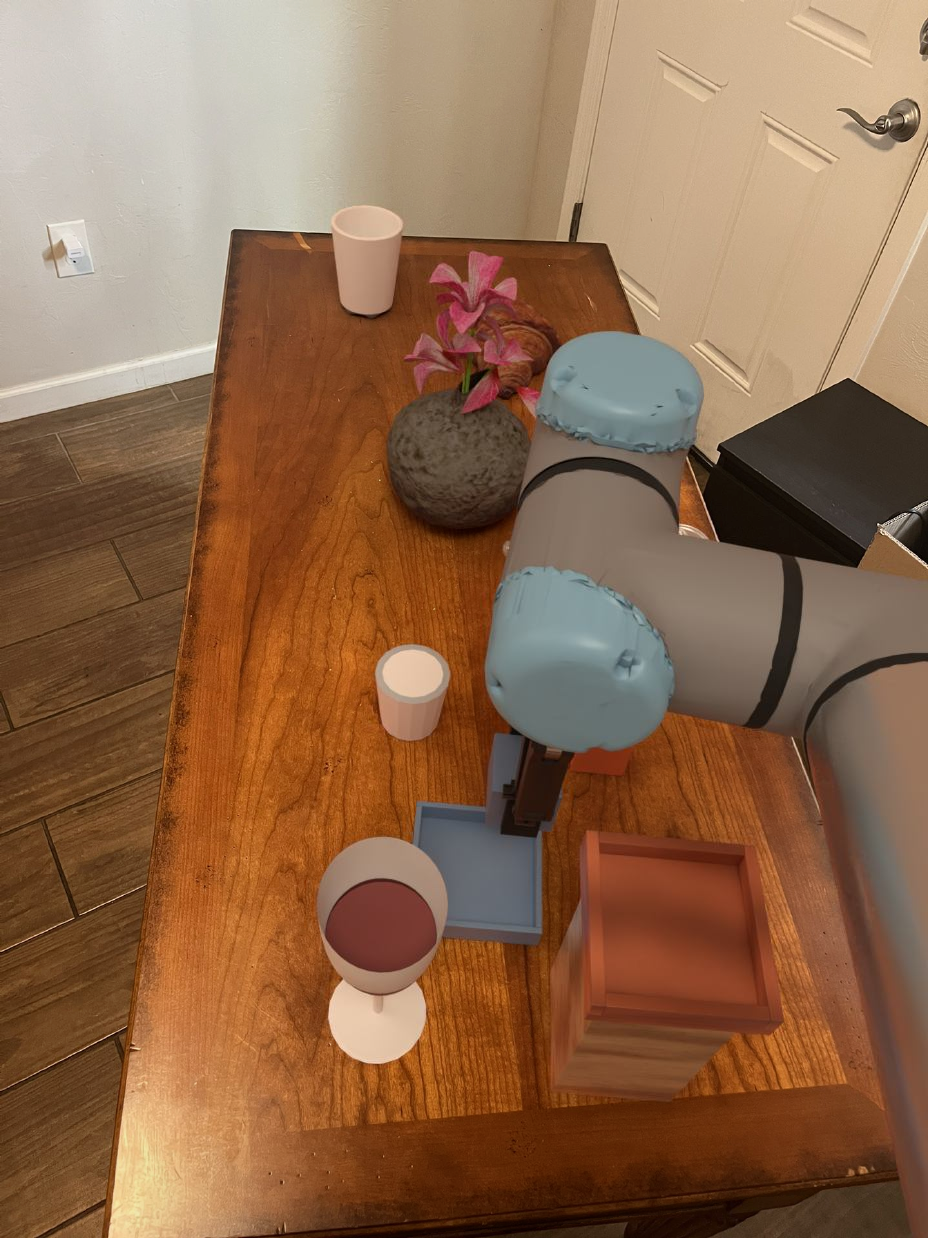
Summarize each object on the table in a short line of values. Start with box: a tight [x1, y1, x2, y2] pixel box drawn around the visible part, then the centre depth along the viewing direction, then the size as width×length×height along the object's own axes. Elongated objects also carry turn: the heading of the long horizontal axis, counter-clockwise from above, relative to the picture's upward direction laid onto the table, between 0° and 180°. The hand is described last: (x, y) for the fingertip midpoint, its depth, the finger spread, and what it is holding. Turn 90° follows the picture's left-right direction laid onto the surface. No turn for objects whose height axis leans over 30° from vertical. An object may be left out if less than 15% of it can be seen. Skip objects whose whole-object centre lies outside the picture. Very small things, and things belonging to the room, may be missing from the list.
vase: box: [386, 250, 541, 530], centre depth 100 cm, size 17×17×30 cm
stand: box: [549, 829, 785, 1103], centre depth 65 cm, size 11×11×22 cm
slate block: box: [485, 732, 563, 833], centre depth 70 cm, size 5×5×5 cm
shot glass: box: [374, 643, 451, 742], centre depth 88 cm, size 7×7×7 cm
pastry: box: [465, 298, 563, 400], centre depth 129 cm, size 17×15×8 cm
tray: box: [412, 800, 543, 947], centre depth 80 cm, size 11×11×2 cm
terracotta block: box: [569, 745, 635, 777], centre depth 88 cm, size 5×5×5 cm
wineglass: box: [316, 836, 448, 1065], centre depth 65 cm, size 8×9×20 cm
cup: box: [330, 204, 404, 320], centre depth 133 cm, size 10×10×13 cm
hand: (519, 797), depth 72 cm, fingers closed on slate block, 5 cm apart
